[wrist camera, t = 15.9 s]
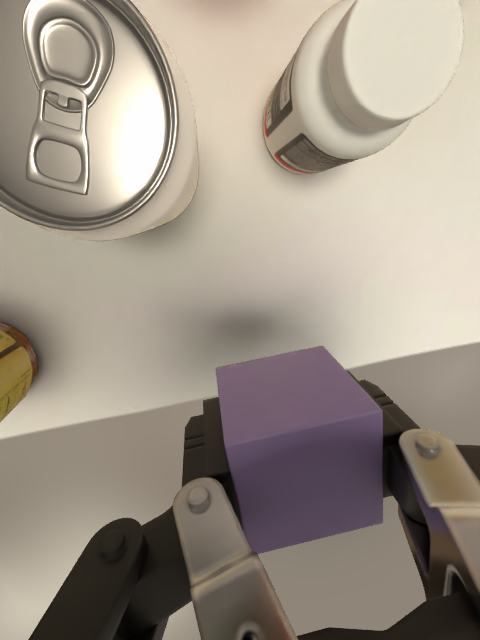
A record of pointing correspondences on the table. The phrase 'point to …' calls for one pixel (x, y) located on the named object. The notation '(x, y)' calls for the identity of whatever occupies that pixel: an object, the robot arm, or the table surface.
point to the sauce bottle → (14, 368)
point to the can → (92, 119)
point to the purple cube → (300, 448)
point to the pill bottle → (361, 80)
